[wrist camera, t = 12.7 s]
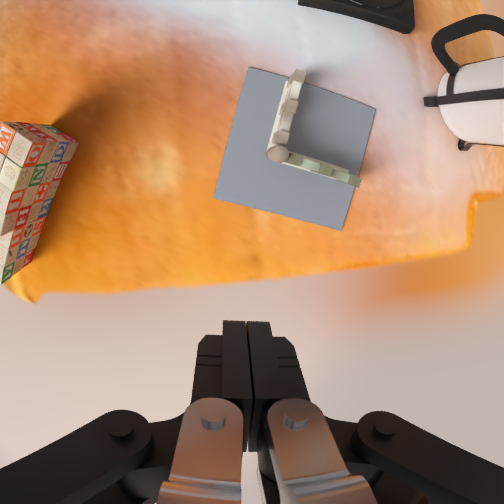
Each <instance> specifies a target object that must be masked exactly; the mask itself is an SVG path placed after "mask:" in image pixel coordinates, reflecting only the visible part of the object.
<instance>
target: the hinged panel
mask: <svg viewBox="0 0 504 504" xmlns="http://www.w3.org/2000/svg"><path fill="white" fill-rule="evenodd" d="M285 163H289V164H292V165H296V166H300V167H303V168H306V169H309V170H310V171H312V172H315V173H318V174H321V175H325V176H328V177H332V178H335V179H337V180H338V181H340V182H343V183H346V184H349V185H352V186H355V187H358V188H359V186H360V183H361V180H362V178H359V177H357V176H354V175H351V174H347V173H344V172H341V171H338V170H336V169H333V167H330V166H328V165H325V164H322V163H316V162H313V161H311V160H308V159H305V158H302V156H299V155H296V154H293V153H289V157H288V159H287V160H286V161H285Z"/></svg>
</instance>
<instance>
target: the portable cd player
mask: <svg viewBox="0 0 504 504" xmlns="http://www.w3.org/2000/svg"><path fill="white" fill-rule="evenodd" d="M298 5H301V6H307V7H312V8H317V9H321V10H326V11H330V12H335V13H339V14H343V15H347V16H350V17H354V18H358V19H361V20H364V21H368V22H371V23H374V24H377V25H381V26H384V27H386V28H389V29H392V30H395V31H398V32H401V33H403V34H409V33H410V32H411V31H412V30H413V29H414V27H415V22H414V6H413V0H298Z"/></svg>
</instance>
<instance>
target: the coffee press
mask: <svg viewBox="0 0 504 504" xmlns="http://www.w3.org/2000/svg"><path fill="white" fill-rule="evenodd" d="M481 30H491V31H495V32H497V33H499V34H501V35H502V36H504V20H503V19H501V18H499V17H496V16H493V15H488V14H479V15H474V16H471V17H468V18H465V19H463V20H460V21H458V22H455V23H453V24H451V25H449V26H446V27H444V28H442V29H441V30H439V31H438V32H437V33H436V34H435V35H434V37H433V38H432V42H431V45H432V49H433V52H434V53H435V55H436V57H437V58H438V60H439V61H440V62H441V63H442V65H443V66H444V67H445V68H446V70H447V72H446V73H445V74H444V76H443V77H442V79H441V81H440V83H439V87H438V97H424V106H426V107H439V109H440V112H441V115H442V117H443V119H444V121H445V123H446V125H447V126H448V128H449V129H450V130H451V131H452V132H453V133H454V134H455V135H456V136H457V137H459V138H460V141H459V142H458V148H459V150H461V151H468V150H469V149H470V147H471V146H472V145H474V144H479V143H487V144H480V145H492V144H498V145H492V146H502V145H504V56H503V57H498V58H492V59H488V60H483V61H479V62H474V63H468V64H464V65H459V64H458V63H455V62H454V61H453V60H452V59H451V58H450V56H449V55H448V54H447V52H446V50H445V43H447V42H449V41H452V40H455V39H457V38H460V37H463V36H466V35H469V34H472V33H475V32H478V31H481ZM465 141H467V142H475V143H468V144H467V145H466V146H465V147H464V143H465ZM502 147H504V146H502Z"/></svg>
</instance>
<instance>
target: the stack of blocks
mask: <svg viewBox="0 0 504 504" xmlns="http://www.w3.org/2000/svg"><path fill="white" fill-rule="evenodd" d="M78 145H79V142H78V141H76V140H75V139H73V138H72V137H70V136H68V135H67V134H64V133H63V132H61V131H60V130H58V129H56V128H55V127H53V126H52V125H44V124H32V123H22V122H1V123H0V285H1V284H3V283H4V282H5V281H7V280H8V279H10V278H11V277H12V275H14V274H15V273H17V272H18V271H20V270H21V269H22V268H23V267H25V266H26V265H28V264H29V263H31V260H32V256H33V253H34V249H35V247H36V245H37V242H38V239H39V236H40V232H41V230H42V228H43V225H44V222H45V219H46V217H47V213H48V210H49V208H50V205H51V203H52V200H53V197H54V195H55V193H56V190H57V188H58V186H59V183H60V181H61V179H62V177H63V175H64V173H65V171H66V169H67V167H68V165H69V162H70V160H71V159H72V157H73V155H74V153H75V151H76V149H77V147H78Z"/></svg>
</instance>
